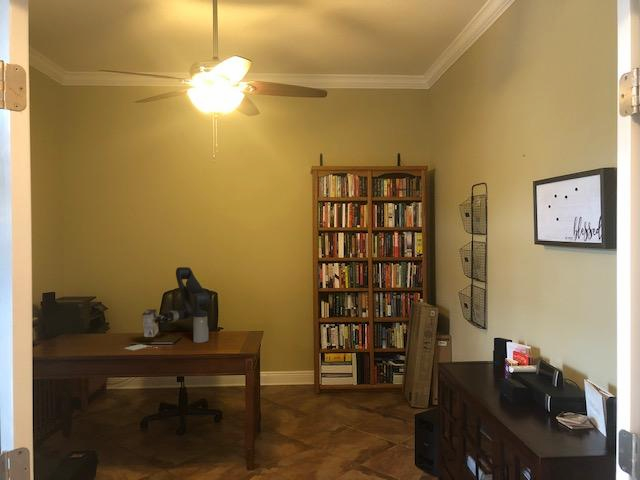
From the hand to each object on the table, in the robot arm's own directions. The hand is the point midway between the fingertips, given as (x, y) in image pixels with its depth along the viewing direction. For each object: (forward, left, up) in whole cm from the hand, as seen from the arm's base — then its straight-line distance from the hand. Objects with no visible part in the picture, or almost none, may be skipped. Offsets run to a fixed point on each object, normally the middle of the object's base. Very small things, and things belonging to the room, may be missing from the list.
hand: (151, 320), depth 309 cm
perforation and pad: (+11, +4, -16) cm, 20 cm away
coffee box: (0, 0, -9) cm, 9 cm away
